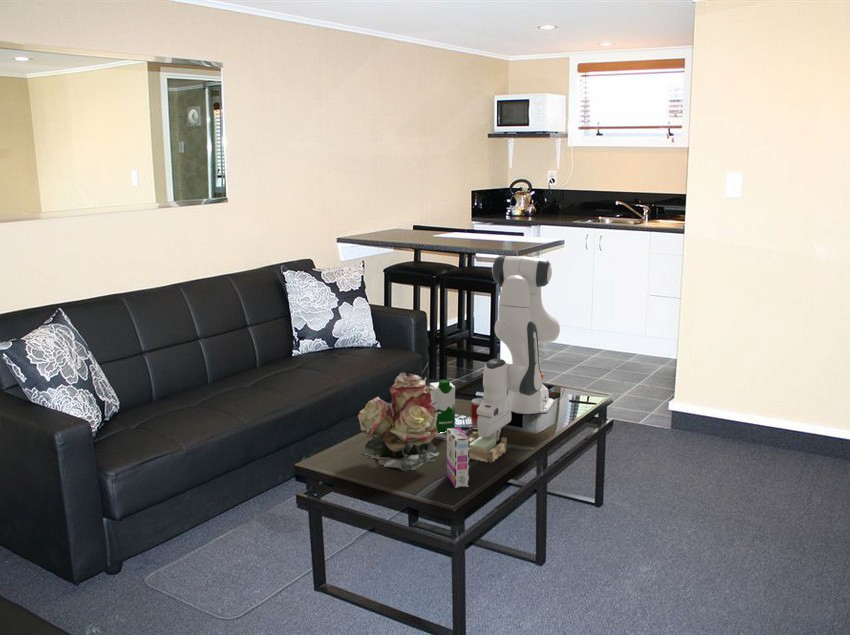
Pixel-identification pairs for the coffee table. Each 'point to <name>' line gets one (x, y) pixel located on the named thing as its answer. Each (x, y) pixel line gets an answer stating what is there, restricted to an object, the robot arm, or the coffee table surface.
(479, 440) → the pale green box
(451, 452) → the candy bar box
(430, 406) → the rose bouquet
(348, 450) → the coffee table surface
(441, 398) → the milk carton
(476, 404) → the canned food
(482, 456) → the frame
